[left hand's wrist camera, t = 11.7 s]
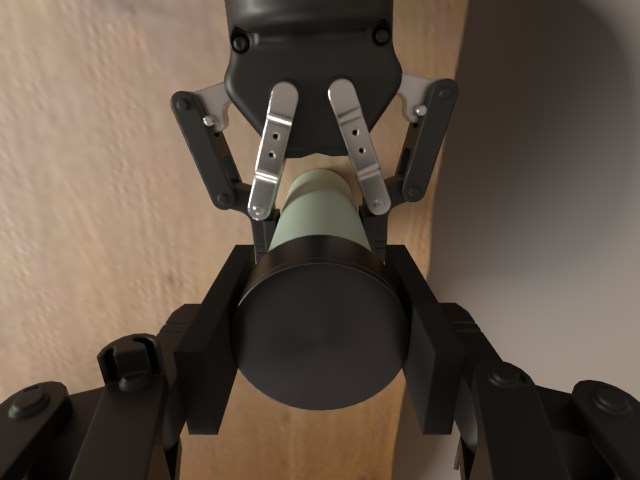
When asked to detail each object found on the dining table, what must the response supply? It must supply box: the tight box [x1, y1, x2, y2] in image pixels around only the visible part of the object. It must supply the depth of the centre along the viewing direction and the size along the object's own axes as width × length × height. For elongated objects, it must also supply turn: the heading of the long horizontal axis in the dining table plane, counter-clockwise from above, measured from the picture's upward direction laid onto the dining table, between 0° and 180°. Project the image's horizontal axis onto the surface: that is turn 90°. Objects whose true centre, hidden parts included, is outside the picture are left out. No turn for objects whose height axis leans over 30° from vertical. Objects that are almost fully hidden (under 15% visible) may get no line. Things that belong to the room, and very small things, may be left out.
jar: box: [268, 169, 372, 252], centre depth 18 cm, size 5×5×16 cm
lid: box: [230, 235, 410, 410], centre depth 11 cm, size 6×6×2 cm
